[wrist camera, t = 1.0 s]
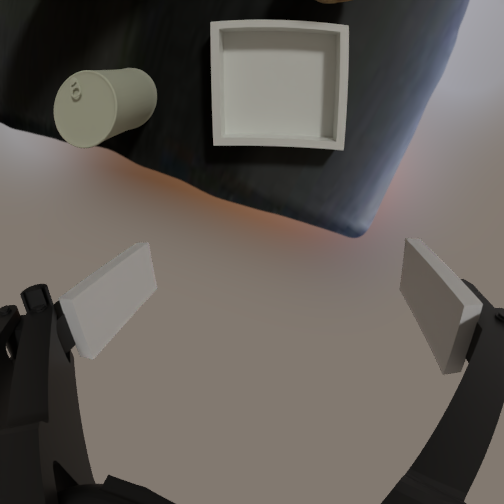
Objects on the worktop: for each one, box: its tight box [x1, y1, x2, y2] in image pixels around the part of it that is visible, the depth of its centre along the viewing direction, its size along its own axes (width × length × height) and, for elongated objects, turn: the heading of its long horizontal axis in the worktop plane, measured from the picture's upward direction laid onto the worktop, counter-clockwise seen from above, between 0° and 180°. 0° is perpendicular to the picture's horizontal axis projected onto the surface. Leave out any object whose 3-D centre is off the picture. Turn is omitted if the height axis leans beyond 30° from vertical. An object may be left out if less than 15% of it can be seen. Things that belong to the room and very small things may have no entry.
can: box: [54, 68, 157, 148], centre depth 32 cm, size 9×9×12 cm
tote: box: [210, 20, 349, 150], centre depth 33 cm, size 16×16×4 cm
